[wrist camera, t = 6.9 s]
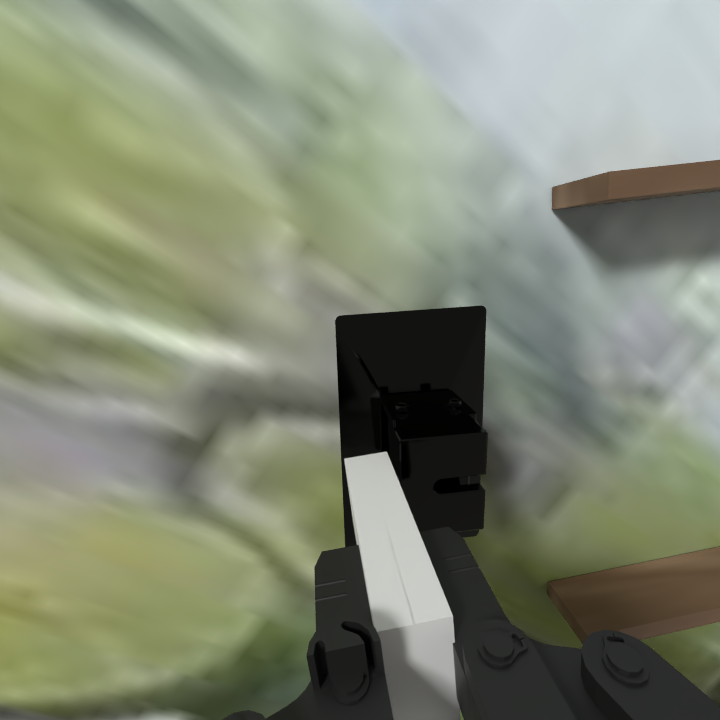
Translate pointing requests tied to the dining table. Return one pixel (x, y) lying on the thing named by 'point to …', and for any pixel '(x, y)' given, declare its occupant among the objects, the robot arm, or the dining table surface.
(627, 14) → the dining table surface
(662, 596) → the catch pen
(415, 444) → the black wall mount bracket
